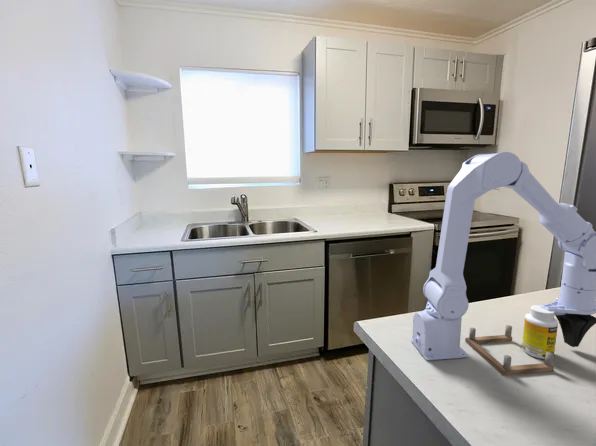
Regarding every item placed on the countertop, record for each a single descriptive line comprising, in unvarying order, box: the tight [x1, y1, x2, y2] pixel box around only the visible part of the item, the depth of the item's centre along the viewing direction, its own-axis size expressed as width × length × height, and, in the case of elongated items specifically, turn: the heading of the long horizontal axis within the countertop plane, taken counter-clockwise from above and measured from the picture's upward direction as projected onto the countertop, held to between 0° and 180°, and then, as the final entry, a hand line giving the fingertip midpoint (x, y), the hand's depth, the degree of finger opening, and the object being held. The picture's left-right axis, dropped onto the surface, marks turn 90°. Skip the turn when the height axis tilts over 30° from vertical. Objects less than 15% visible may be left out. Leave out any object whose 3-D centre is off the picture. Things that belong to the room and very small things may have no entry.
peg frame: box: [464, 324, 555, 376], centre depth 66 cm, size 11×12×4 cm
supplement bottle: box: [521, 304, 559, 360], centre depth 66 cm, size 6×6×10 cm
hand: (571, 344), depth 67 cm, fingers closed
